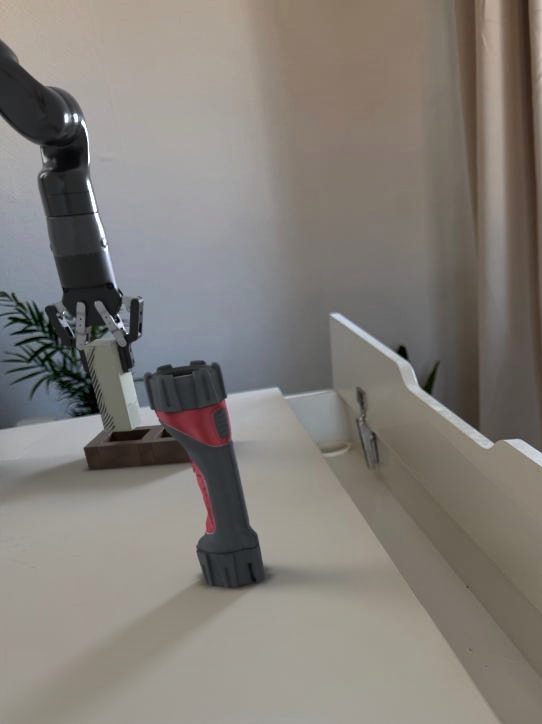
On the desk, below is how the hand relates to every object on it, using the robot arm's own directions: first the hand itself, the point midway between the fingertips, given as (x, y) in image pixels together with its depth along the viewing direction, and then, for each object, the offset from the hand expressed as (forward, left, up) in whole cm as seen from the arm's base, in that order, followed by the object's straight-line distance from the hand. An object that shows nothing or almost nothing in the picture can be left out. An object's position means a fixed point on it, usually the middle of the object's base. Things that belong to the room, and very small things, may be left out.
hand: (110, 372), depth 144 cm
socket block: (+4, 0, -14) cm, 14 cm away
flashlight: (+24, -50, -14) cm, 57 cm away
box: (0, 0, -9) cm, 9 cm away
